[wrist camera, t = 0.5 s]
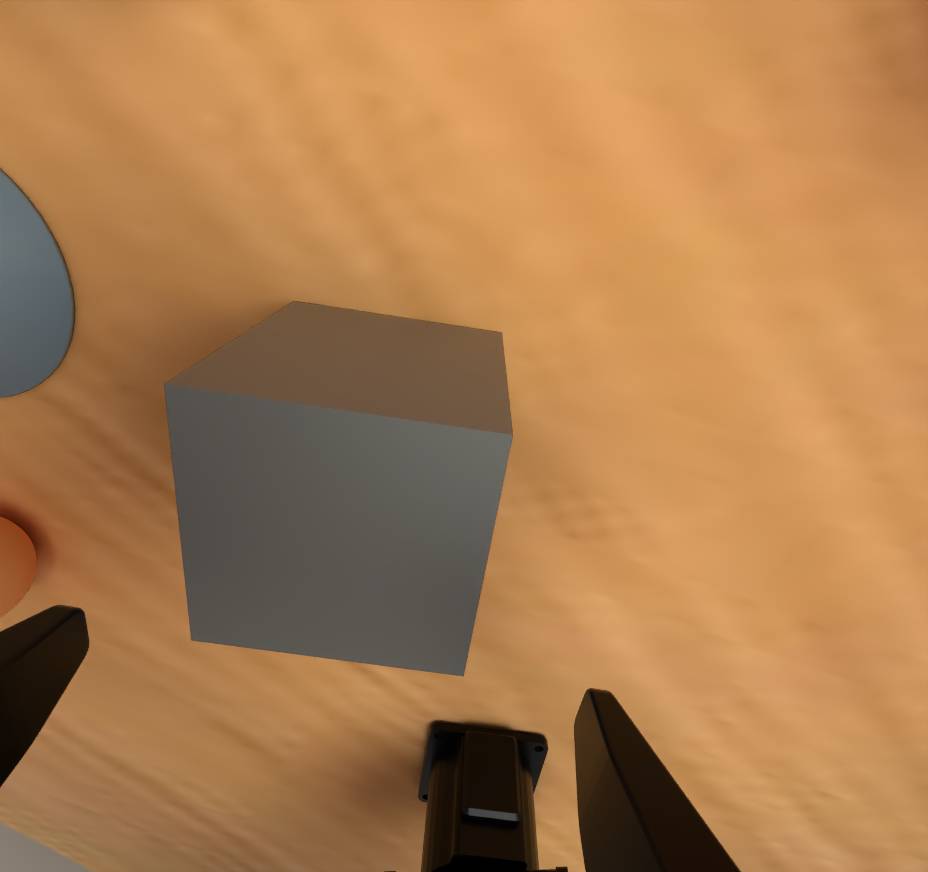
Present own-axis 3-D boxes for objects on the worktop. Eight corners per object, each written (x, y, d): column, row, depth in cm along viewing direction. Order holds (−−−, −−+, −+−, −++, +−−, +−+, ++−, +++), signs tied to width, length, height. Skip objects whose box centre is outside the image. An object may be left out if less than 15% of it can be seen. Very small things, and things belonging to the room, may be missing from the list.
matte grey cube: (470, 506, 23) (463, 676, 15) (293, 480, 23) (191, 640, 15) (501, 332, 20) (513, 435, 12) (294, 300, 20) (164, 384, 12)
